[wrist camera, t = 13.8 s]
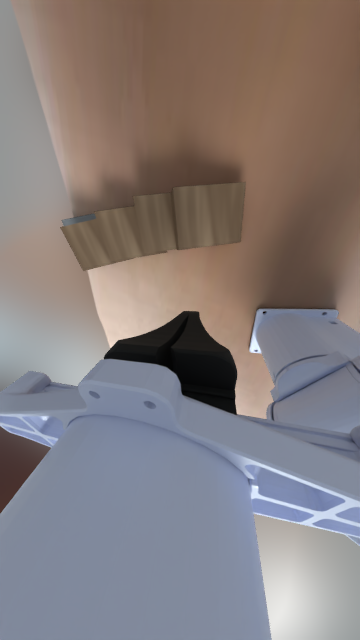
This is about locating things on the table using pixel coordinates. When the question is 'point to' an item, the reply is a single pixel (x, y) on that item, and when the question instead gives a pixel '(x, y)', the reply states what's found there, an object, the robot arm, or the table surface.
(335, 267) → the table surface
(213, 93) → the table surface
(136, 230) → the domino
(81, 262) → the domino
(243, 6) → the table surface
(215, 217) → the domino
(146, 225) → the domino
